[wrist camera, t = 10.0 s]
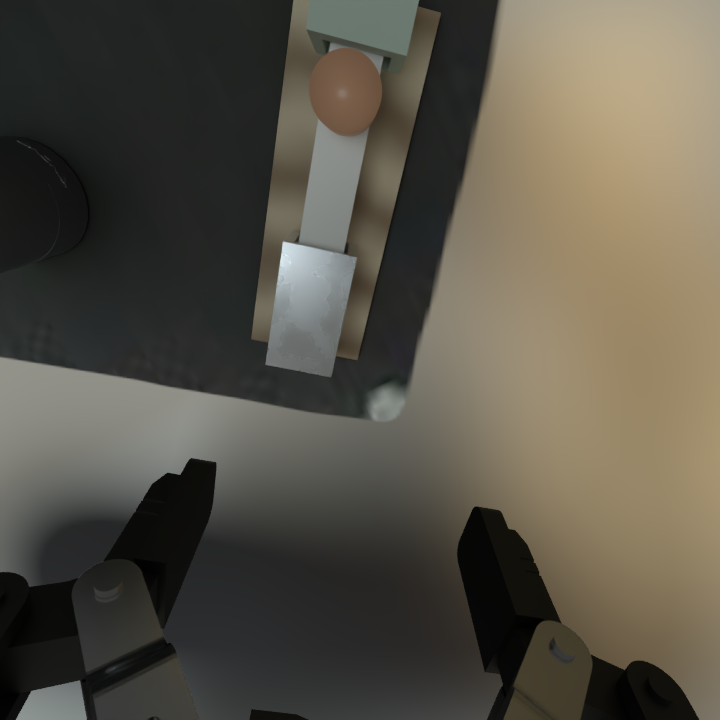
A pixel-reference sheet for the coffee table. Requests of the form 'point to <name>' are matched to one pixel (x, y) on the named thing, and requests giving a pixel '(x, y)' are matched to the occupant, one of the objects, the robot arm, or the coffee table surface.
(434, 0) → the coffee table surface
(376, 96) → the tube
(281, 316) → the aluminium sleeve
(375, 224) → the oak base
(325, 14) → the sage socket
